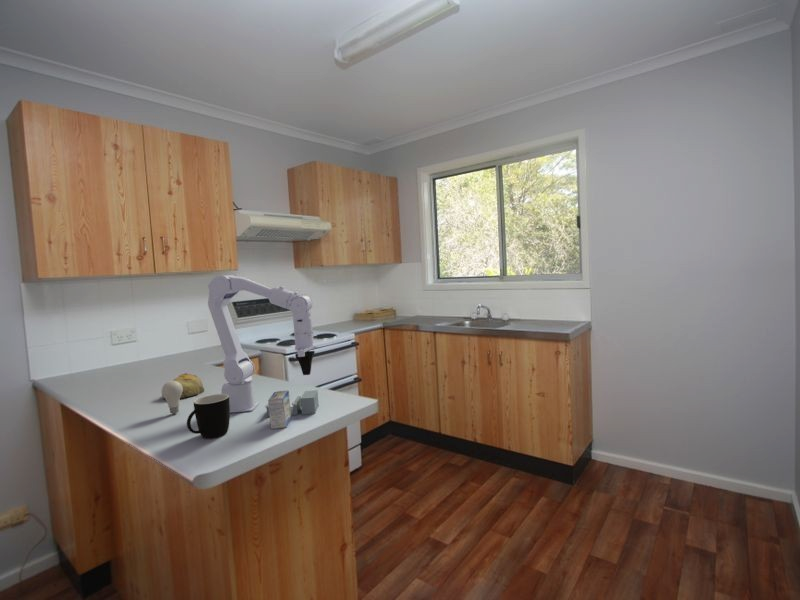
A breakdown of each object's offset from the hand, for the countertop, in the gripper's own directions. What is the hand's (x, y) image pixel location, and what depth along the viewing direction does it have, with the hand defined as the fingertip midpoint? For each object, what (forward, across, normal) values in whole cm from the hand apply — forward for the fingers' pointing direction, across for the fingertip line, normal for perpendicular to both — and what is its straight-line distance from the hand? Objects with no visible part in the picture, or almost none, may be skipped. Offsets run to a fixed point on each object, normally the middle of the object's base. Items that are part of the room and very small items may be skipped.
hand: (306, 374), depth 137 cm
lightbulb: (+11, +3, +44) cm, 45 cm away
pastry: (+11, +27, +51) cm, 59 cm away
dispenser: (+10, -4, +4) cm, 12 cm away
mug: (+11, -20, +24) cm, 33 cm away
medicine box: (+11, -14, +6) cm, 19 cm away
